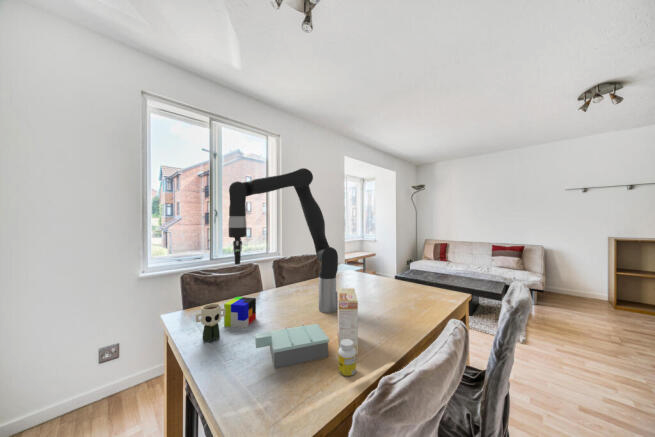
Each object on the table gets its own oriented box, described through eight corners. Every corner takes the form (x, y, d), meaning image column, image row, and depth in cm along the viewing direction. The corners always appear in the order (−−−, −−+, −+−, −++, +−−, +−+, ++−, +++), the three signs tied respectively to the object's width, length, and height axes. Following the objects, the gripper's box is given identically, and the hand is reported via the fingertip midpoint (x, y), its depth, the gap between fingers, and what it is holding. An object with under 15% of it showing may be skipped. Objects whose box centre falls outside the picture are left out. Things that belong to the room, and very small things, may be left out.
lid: (317, 326, 92) (317, 317, 92) (329, 341, 80) (329, 332, 80) (254, 336, 84) (254, 327, 84) (256, 356, 72) (256, 345, 72)
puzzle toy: (244, 328, 103) (244, 305, 103) (224, 326, 105) (224, 304, 105) (255, 318, 113) (255, 298, 113) (237, 317, 115) (237, 296, 115)
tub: (317, 342, 91) (317, 326, 91) (327, 359, 80) (327, 341, 80) (269, 351, 85) (269, 334, 85) (274, 371, 74) (274, 352, 74)
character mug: (197, 347, 88) (197, 312, 88) (194, 339, 93) (194, 306, 93) (227, 338, 94) (227, 306, 94) (223, 331, 100) (223, 301, 100)
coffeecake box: (337, 335, 97) (337, 287, 97) (354, 335, 97) (354, 288, 97) (337, 356, 82) (337, 300, 82) (358, 356, 82) (358, 300, 82)
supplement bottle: (337, 368, 75) (337, 338, 75) (354, 367, 76) (354, 337, 76) (339, 380, 70) (339, 347, 70) (357, 379, 70) (357, 346, 70)
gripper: (246, 226, 100) (246, 264, 100) (246, 225, 114) (246, 259, 114) (227, 227, 98) (227, 266, 98) (229, 226, 111) (229, 260, 111)
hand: (237, 262), depth 106 cm, fingers open, 8 cm apart
